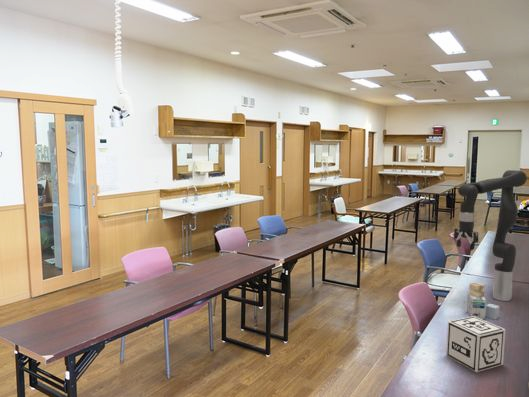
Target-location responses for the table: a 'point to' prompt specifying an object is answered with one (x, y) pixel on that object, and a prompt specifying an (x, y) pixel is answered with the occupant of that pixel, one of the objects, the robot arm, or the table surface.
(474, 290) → the maple block
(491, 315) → the grey-blue block
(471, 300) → the light bulb box
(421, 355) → the table surface
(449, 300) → the table surface
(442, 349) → the table surface
